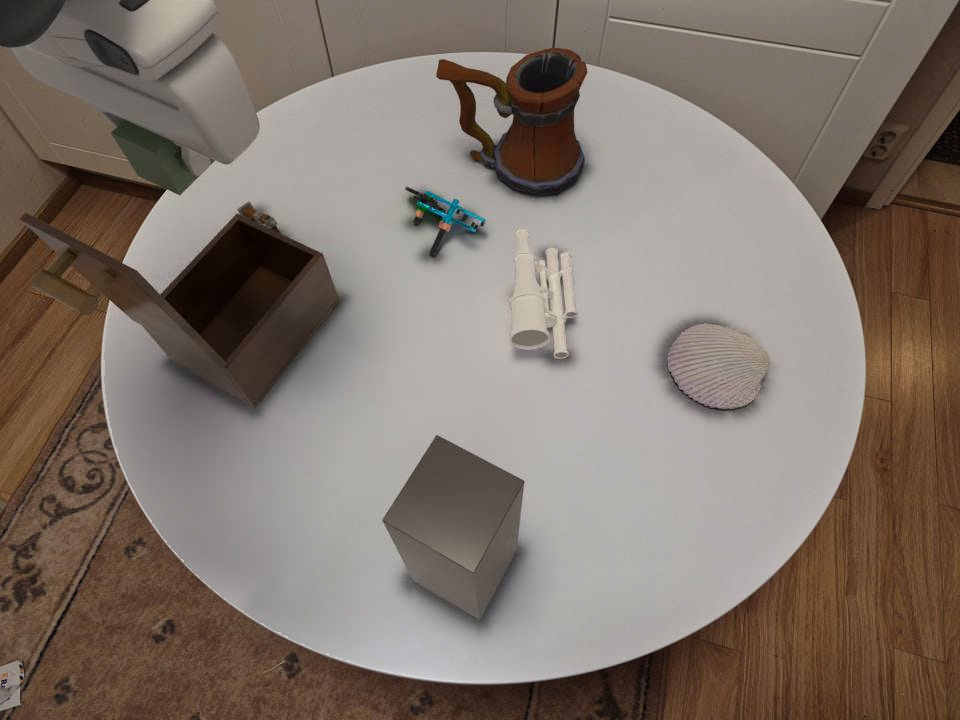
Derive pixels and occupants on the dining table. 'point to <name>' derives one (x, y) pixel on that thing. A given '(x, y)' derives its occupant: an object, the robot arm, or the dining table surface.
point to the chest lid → (112, 289)
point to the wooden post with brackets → (258, 216)
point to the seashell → (718, 365)
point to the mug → (527, 118)
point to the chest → (249, 306)
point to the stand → (457, 525)
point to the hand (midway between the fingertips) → (170, 155)
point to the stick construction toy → (441, 214)
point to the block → (153, 157)
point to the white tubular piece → (540, 298)
